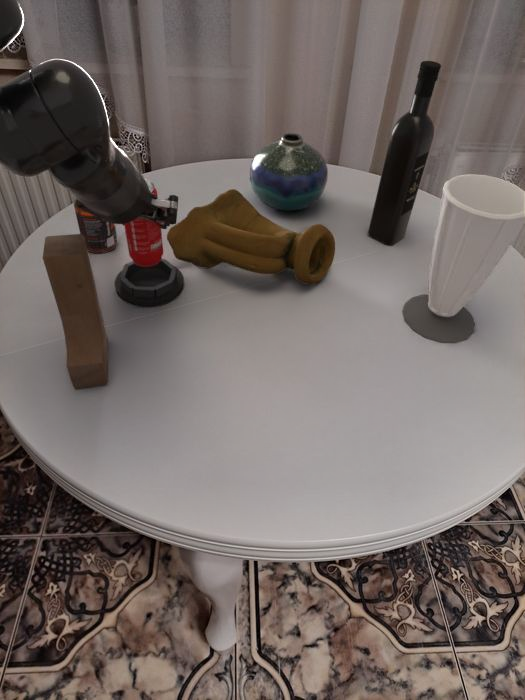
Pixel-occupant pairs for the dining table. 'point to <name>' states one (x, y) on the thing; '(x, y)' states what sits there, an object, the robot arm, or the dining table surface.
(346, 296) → the dining table surface
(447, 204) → the cup
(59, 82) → the robot arm
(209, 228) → the brown looped sculpture
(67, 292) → the wooden block
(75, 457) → the dining table surface
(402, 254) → the dining table surface
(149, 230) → the beverage can
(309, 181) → the vase
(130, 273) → the socket pad
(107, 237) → the supplement bottle
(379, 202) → the wine bottle
